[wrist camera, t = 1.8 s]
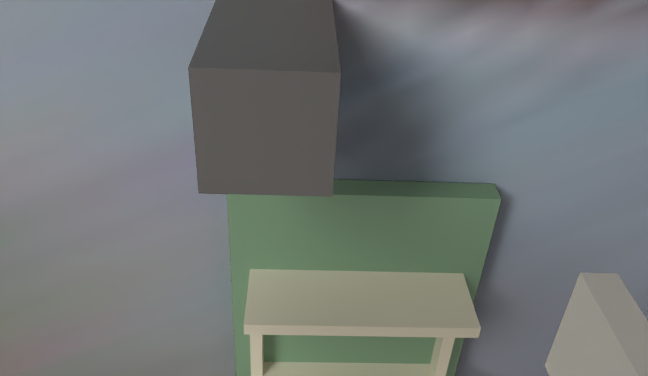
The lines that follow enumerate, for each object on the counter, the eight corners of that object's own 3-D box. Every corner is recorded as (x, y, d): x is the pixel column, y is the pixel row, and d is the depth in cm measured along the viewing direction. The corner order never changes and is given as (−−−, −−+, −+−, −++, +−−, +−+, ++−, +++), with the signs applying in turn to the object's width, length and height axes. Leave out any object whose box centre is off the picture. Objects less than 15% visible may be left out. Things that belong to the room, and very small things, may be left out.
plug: (218, -8, 22) (188, 67, 16) (331, -3, 22) (341, 72, 17) (224, 97, 24) (199, 195, 19) (326, 101, 25) (332, 198, 19)
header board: (229, 176, 27) (217, 243, 23) (494, 183, 27) (525, 251, 23) (240, 400, 36) (232, 476, 32) (438, 402, 36) (454, 477, 32)
